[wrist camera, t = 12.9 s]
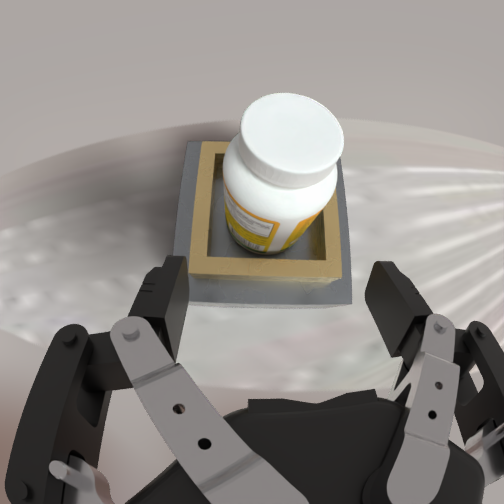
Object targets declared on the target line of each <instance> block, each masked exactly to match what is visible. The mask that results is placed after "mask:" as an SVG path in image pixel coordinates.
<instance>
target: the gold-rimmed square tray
mask: <svg viewBox="0 0 504 504" xmlns="http://www.w3.org/2000/svg"><path fill="white" fill-rule="evenodd" d="M229 144H230V141H188V143H187V149H186V154H185V161H184V167H183V174H182V180H181V187H180V195H179V203H178V211H177V219H176V228H175V238H174V248H173V256H186V259H187V268H188V278H189V288H190V294H189V302H188V305H194V306H214V307H240V308H330V307H337V306H343V305H349V304H352V279H351V257H350V242H349V229H348V217H347V207H346V198H345V189H344V181H343V173H342V166H341V159H340V157H339V159H338V161H337V162H336V165H337V183H336V187H335V190H334V193H333V195H332V197H331V199H330V200H329V201H328V203H327V204H326V206H325V207H324V208H323V209H322V211H321V212H320V213H319V214H318V215H317V217H316V218H315V219H314V221H313V222H312V223H311V224H310V225H309V227H308V228H307V229H306V230H305V232H304V233H303V234H302V235H301V237H300V238H299V239H298V240H297V241H296V242H295V243H294V244H293V245H292V246H291V247H290V248H288V249H286V250H285V251H282V252H280V253H276V254H270V255H265V254H257V253H253V252H251V251H249V250H247V249H245V248H243V247H242V246H241V245H239V244H238V243H237V242H236V241H235V240H234V238H233V237H232V235H231V234H230V232H229V230H228V227H227V224H226V217H225V201H224V183H223V160H224V156H225V152H226V150H227V147H228V145H229Z"/></svg>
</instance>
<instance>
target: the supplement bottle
mask: <svg viewBox="0 0 504 504" xmlns="http://www.w3.org/2000/svg"><path fill="white" fill-rule="evenodd" d="M343 146H344V136H343V132H342V129H341V126H340V124H339V122H338V121H337V119H336V118H335V117H334V115H333V114H332V113H331V112H330V111H329V110H328V109H327V108H326V107H325V106H323V105H322V104H320V103H319V102H317V101H315V100H313V99H311V98H308V97H306V96H302V95H298V94H294V93H275V94H269V95H266V96H263V97H261V98H259V99H257V100H256V101H254V102H253V103H252V104H250V105H249V106H248V107H247V109H246V110H245V112H244V114H243V116H242V118H241V122H240V132H239V133H238V134H237V135H236V136H235V137H234V138H233V139H232V141H231V142H230V144H229V145H228V147H227V150H226V152H225V156H224V160H223V183H224V201H225V217H226V224H227V227H228V230H229V232H230V234H231V235H232V237H233V238H234V240H235V241H236V242H237V243H238V244H239V245H241V246H242V247H243V248H245V249H247V250H249V251H251V252H253V253H257V254H265V255H270V254H276V253H280V252H282V251H285V250H286V249H288V248H290V247H291V246H292V245H293V244H294V243H295V242H296V241H297V240H298V239H299V238H300V237H301V235H302V234H303V233H304V232H305V230H306V229H307V228H308V227H309V225H310V224H311V223H312V222H313V221H314V219H315V218H316V217H317V215H318V214H319V213H320V212H321V211H322V209H323V208H324V207H325V206H326V204H327V203H328V201H329V200H330V199H331V197H332V195H333V193H334V190H335V187H336V183H337V165H336V162H337V161H338V159H339V157H340V155H341V153H342V151H343Z"/></svg>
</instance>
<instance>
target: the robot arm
mask: <svg viewBox="0 0 504 504" xmlns="http://www.w3.org/2000/svg"><path fill="white" fill-rule="evenodd" d="M189 294H190V288H189V278H188V268H187V259H186V256H172V255H168V256H167V257H166V259H165V262H164V264H163V266H162V267H154V268H153V269H152V270H151V271H150V272H149V273H148V274H146V277H145V279H144V281H143V285H141V287H140V290H139V292H138V294H137V296H136V298H135V301H134V303H133V305H132V308H131V310H130V312H129V315H128V317H126V318H123V319H121V320H119V321H118V322H116V323H115V324H114V325H113V327H112V329H111V331H109V332H104V333H97V334H90V335H89V334H88V332H87V330H86V329H85V328H84V327H83V326H81V325H78V324H70V325H67V326H65V327H63V328H61V329H60V330H59V331H58V332H57V333H56V334H55V336H54V338H53V340H52V342H51V344H50V346H49V348H48V350H47V353H46V355H45V357H44V359H43V362H42V364H41V366H40V368H39V371H38V373H37V376H36V378H35V381H34V383H33V386H32V388H31V391H30V394H29V396H28V399H27V402H26V405H25V407H24V410H23V413H22V416H21V419H20V423H19V426H18V429H17V432H16V436H15V440H14V443H13V447H12V451H11V455H10V459H9V464H8V469H7V473H6V479H5V491H6V494H7V497H8V499H9V501H10V502H11V504H115V503H114V502H113V500H112V498H111V495H110V486H109V482H108V480H107V478H106V477H105V476H104V474H103V473H101V472H100V471H99V470H97V467H98V460H99V453H100V448H101V442H102V436H103V431H104V426H105V421H106V416H107V411H108V406H109V403H110V398H111V394H112V390H120V389H127V388H134V389H135V391H136V393H137V395H138V397H139V399H140V401H141V402H142V404H143V406H144V408H145V410H146V411H147V413H148V415H149V416H150V418H151V420H152V422H153V423H154V425H155V427H156V428H157V430H158V431H159V433H160V435H161V436H162V438H163V439H164V441H165V442H166V444H167V445H168V447H169V448H170V450H171V451H172V453H173V454H174V456H175V457H176V460H175V461H174V462H173V463H172V464H171V465H169V467H167V468H166V469H165V470H164V471H163V472H162V473H161V474H159V475H158V476H157V477H156V478H155V479H154V480H153V481H151V482H150V483H149V484H148V485H147V486H145V487H144V488H143V489H142V490H141V491H139V492H138V493H137V494H136V495H135V496H134V497H132V498H131V499H130V500H128V501H127V502H126V503H125V504H482V499H483V493H484V488H485V487H486V486H487V485H489V484H491V483H493V482H495V481H497V480H499V479H500V478H502V477H504V352H503V351H502V349H501V347H500V345H499V344H498V342H497V340H496V339H495V337H494V336H493V334H492V332H491V331H490V329H489V328H488V327H487V326H486V325H485V324H483V323H481V322H479V321H472V322H471V323H470V324H469V326H468V327H467V329H466V330H462V329H456V328H455V327H454V325H453V323H452V322H451V321H450V320H449V319H448V318H446V317H445V316H443V315H440V314H433V312H432V311H431V309H430V308H429V306H428V305H427V303H426V302H425V300H424V299H423V297H422V296H421V294H419V291H418V290H417V289H416V288H415V286H414V284H413V283H412V282H411V280H410V279H409V278H408V277H406V276H405V275H404V274H403V273H401V272H400V271H399V270H398V268H397V267H396V265H395V264H394V263H393V262H392V261H376V262H375V263H374V265H373V268H372V271H371V275H370V278H369V281H368V284H367V287H366V290H365V301H366V304H367V306H368V308H369V310H370V312H371V314H372V316H373V318H374V320H375V323H376V325H377V327H378V329H379V331H380V333H381V336H382V338H383V340H384V342H385V345H386V347H387V349H388V351H389V354H390V356H391V358H393V357H399V356H402V358H403V360H402V361H401V363H400V365H399V368H398V371H397V374H396V377H395V380H394V382H393V385H392V388H391V391H390V394H389V396H388V398H387V399H384V398H378V397H377V395H376V391H375V389H371V390H365V391H358V392H351V393H346V394H343V395H341V396H338V397H335V398H333V399H330V400H327V401H324V402H321V403H317V404H314V403H306V402H300V401H294V400H288V399H248V408H244V409H240V410H237V411H234V412H232V413H229V414H227V415H225V416H224V417H222V416H221V415H220V414H219V413H218V411H217V410H216V409H215V408H214V407H213V405H212V404H211V403H210V402H209V400H208V399H207V398H206V397H205V395H204V394H203V393H202V391H201V390H200V389H199V388H198V386H197V385H196V384H195V382H194V381H193V380H192V378H191V377H190V376H189V374H188V373H187V371H186V370H185V369H184V367H183V366H182V365H181V364H180V363H177V364H176V358H177V354H178V349H179V344H180V339H181V334H182V330H183V325H184V320H185V316H186V311H187V307H188V302H189ZM475 364H476V365H477V367H478V369H479V371H480V373H481V375H482V377H483V380H484V385H483V388H482V389H481V391H480V392H479V393H478V391H477V389H476V387H475V385H474V382H473V380H472V378H471V376H470V374H469V371H470V370H471V369H472V368H473V366H474V365H475ZM454 414H455V417H456V420H457V423H458V426H459V429H460V432H461V435H462V438H463V442H464V445H465V451H464V450H463V449H461V448H460V447H458V446H457V445H455V444H454V443H453V442H451V441H450V440H449V434H450V430H451V425H452V420H453V415H454Z"/></svg>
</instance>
